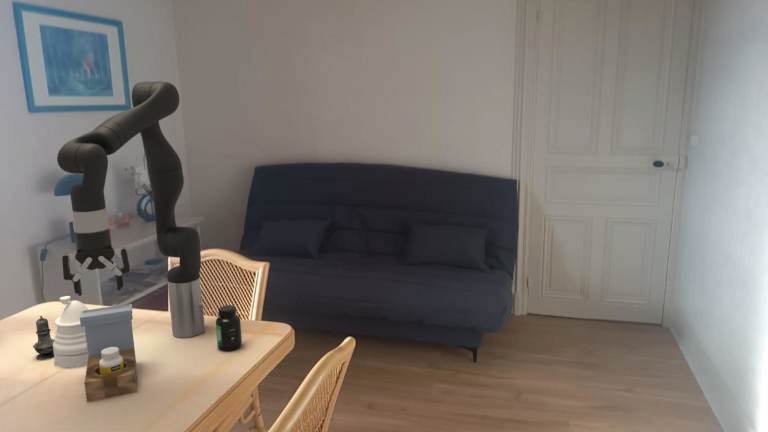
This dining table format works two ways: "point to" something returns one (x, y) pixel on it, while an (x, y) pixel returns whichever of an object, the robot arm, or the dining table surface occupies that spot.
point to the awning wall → (108, 328)
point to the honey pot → (70, 336)
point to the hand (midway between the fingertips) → (100, 292)
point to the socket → (110, 378)
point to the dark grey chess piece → (43, 340)
